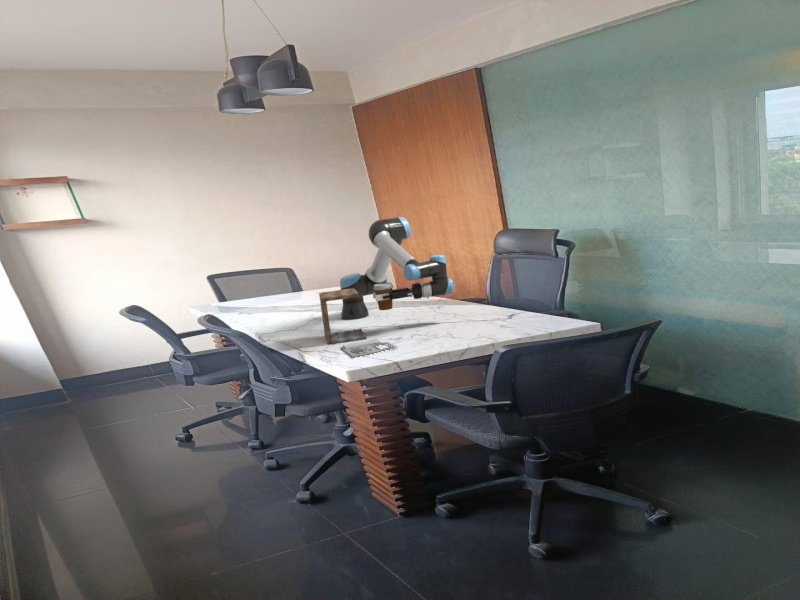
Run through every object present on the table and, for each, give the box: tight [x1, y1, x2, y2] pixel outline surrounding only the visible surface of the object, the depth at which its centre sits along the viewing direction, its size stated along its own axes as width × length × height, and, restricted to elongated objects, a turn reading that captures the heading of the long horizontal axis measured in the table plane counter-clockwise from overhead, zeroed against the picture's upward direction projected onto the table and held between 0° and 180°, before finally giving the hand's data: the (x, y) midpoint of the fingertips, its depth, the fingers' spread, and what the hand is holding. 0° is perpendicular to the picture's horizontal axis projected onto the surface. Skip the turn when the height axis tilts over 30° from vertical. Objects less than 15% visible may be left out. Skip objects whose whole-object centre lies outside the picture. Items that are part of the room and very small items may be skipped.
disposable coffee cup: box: [373, 282, 394, 311], centre depth 322 cm, size 10×10×12 cm
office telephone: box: [339, 338, 398, 359], centre depth 291 cm, size 23×3×20 cm
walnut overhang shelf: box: [318, 288, 368, 346], centre depth 319 cm, size 18×22×22 cm
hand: (374, 296), depth 321 cm, fingers closed on disposable coffee cup, 8 cm apart
